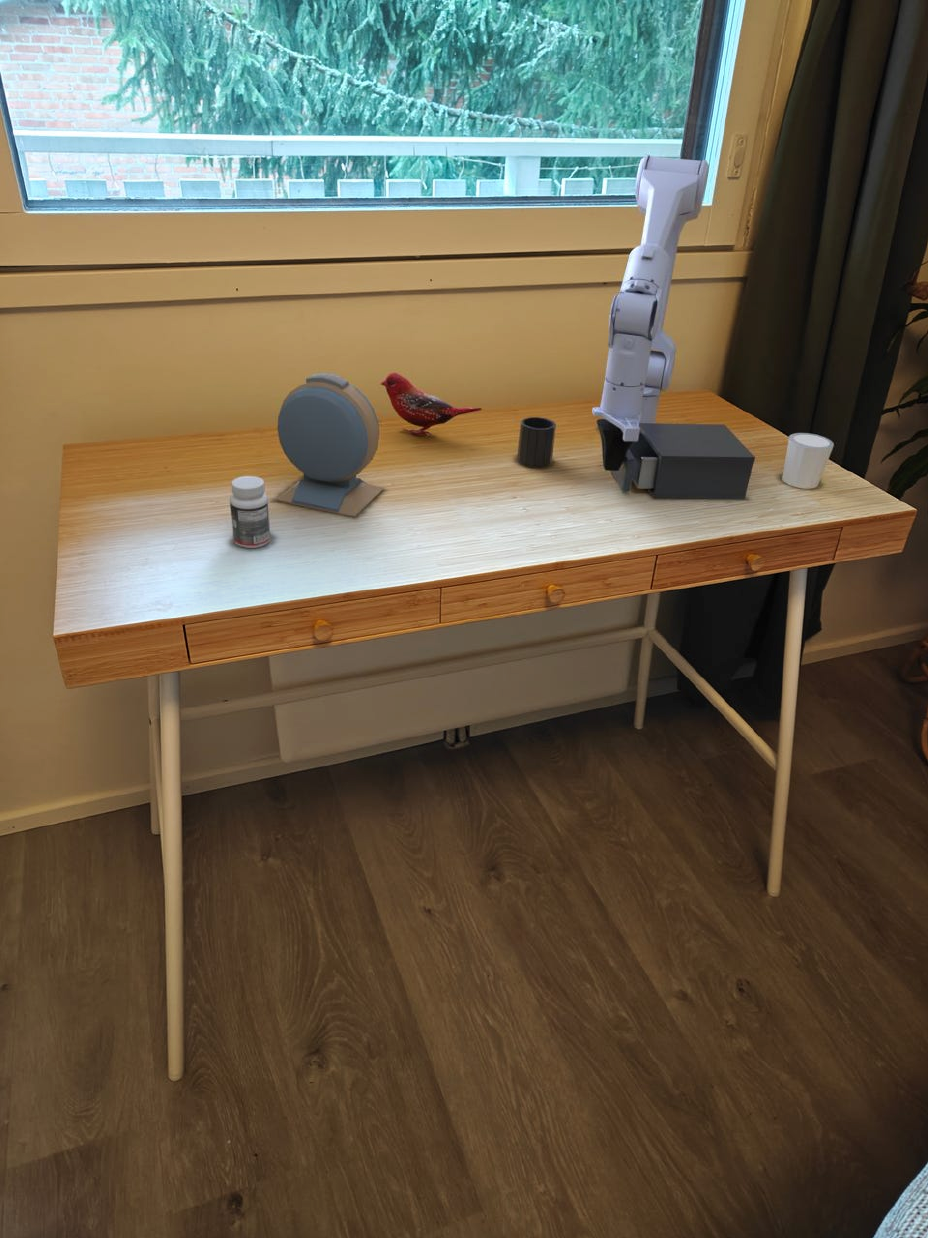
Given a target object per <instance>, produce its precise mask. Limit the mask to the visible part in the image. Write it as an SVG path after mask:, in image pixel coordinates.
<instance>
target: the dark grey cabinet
mask: <svg viewBox="0 0 928 1238" xmlns="http://www.w3.org/2000/svg"><path fill="white" fill-rule="evenodd" d="M639 428H640V432H641V433H642V434H643V436H644V437H645V439H646V440H647V441H648V443H649V444H650V445H651V447H652V448H653V450H654V451H655V452H656V454H657V455H658V457H659V458H660V461H659V466H658V471H657V477H656V482H655V487H654V489H651V488H647V490H648V491H649V493H650V495H651V496H652V498H653V499H656V500H657V499H658V500H661V499H665V500H667V499H668V500H669V499H670V500H677V499H679V500H745V499H746V496H747V492H748V489H749V484H750V480H751V476H752V472H753V468H754V463H755V460H756V457H755V455H754V454H753V453H752V452H751V451H750V450H749V449H748V448H747V447H746V446H745V444H744V443H742V441H741V440H740V439H739V438H738V437H737V436H736V435H735V434H734V432H732V431H731V429H729V428H728V426H727V425H725V424H722V423H721V424H718V423H717V424H714V423H713V424H712V423H711V424H708V423H661V422H660V423H659V422H657V423H656V422H655V423H639Z"/></svg>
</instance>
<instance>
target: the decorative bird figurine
mask: <svg viewBox="0 0 928 1238" xmlns="http://www.w3.org/2000/svg"><path fill="white" fill-rule="evenodd" d="M380 385H381V386H384V388H385V390H386V393H387V396H388V398H389V400H390V402H391V406H392V408H393V410H394V411H395V412H396V413H397V415H398V416H399V417H400V418H401V419H403V420H404V421H405V422H406V423H409V424H410V425H413V426H415V427H421V428H419V429H406V428H403V429H402V431H405V432H408V433H411V434H412V435H423V436H428V435H429V436H432V434H431V433H430V431H426V430H429V429H430V428H431V427H433V426H436V425H443V424H447V422H448V421H450V420H452V419H454V418H455V417H457V416H460V415H464V414H469V413H474V412H479V411H482V410H483V409H482V408H481V407H454V406H452V405H451V404H449V403H447V402H446V401H444V400H442V399H440V398H439V397H437V396H434V395H432V394H430V393H427V392H425V391H422V390H421V389H419V388H417V387H415V386H414V385H413V384H412V383H411V382H410V381H409V379H407V378H406V377H404V376H403V375H401V374H399V373H398V372H390V373H389V374H388V375H387V376H386V377H385V380H383V381H381V383H380Z"/></svg>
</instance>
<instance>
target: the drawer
mask: <svg viewBox="0 0 928 1238" xmlns="http://www.w3.org/2000/svg"><path fill="white" fill-rule="evenodd" d="M659 461H660V458H659V457H658V455H657V454H656V452H655V451H654V450H653V448H652V447H651V445H650V444H649V443H648V441H647V440H646V439H645V437H644V436H643V434H642V433H641V432H639V437H638V441H633V443H632V444H631V445H630V447H629V449H628V451H627V453H626V455H625V457H624V460H623V462H622V465H621V467H620V469H619V471H610V472H611V474H612V476H613V477H614V479H615V481H616V482H617V485H618V486H619V488H620V489H621V491H622V492H631V489H632V484H633V483H634V486H635V487H636V489H648V488H651V489H654V487H655V482H656V477H657V471H658V466H659Z"/></svg>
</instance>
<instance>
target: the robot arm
mask: <svg viewBox="0 0 928 1238" xmlns="http://www.w3.org/2000/svg"><path fill="white" fill-rule="evenodd" d="M639 161H640V162H639V164H638V167H637V173H636V179H635V187H634V190H635V191H634V196H635V199H636V205H637V208H638V212H639V213H640V214H641V215H643V216H644V223H643V229H642V235H641V241H640V242H641V243H640V245H638V246H636V247H635V248H633V249H632V251H631V252H630V253H629V256H628V260H627V265H626V266H625V267H626V268H625V271H624V274H623V279H622V283H621V286H620V290H619V293H618V294H617V293H615V294H614V296H613V299H612V302H611V306H610V310H609V311H610V312H609V317H608V340H607V347H608V348H609V349H608V353H607V355H608V356H607V361H606V369H605V375H604V383H603V390H602V395H601V401H600V405H599V406H593V407H592V410H591V413H592V414H593V416H594V417H601V418H598V419H597V420H596V425H597V427H598V431H599V436H600V441H601V450H602V453H601V455H602V464H603V468H604V470H605V471H609V472H611V471H619V469H620V467H621V465H622V462H623V460H624V457H625V455H626V453H627V451H628V449H629V447H630V445H631V444H632V443H633V441H638V437H639V432H640V428H639V423H656V419H657V415H658V407H659V402H660V397H661V392H666V391H667V390H668V389H669V388H670V385H671V382H672V378H673V373H674V369H675V368H674V367H675V361H676V351H677V346H676V342H675V341H674V339H673V338H671V336H670V335H668V334H667V332H666V331H665V330H664V324H665V323H664V322H665V317H666V312H667V306H668V302H669V295H670V292H671V291H670V290H671V285H672V278H673V275H674V274H673V273H674V267H675V263H676V256H677V251H678V246H679V242H680V236H681V233H682V231H683V229H684V227H685V226H686V224H687V222H690V221H693V220H697V219H698V218H699V215H700V213H701V212H702V207H703V201H704V197H705V193H706V188H707V183H708V177H709V172H710V171H709V169H710V165H709V163H708V161H707V160H706V159H702V160H697V159H696V160H695V159H685V158H674V157H663V156H653V155H652V156H651V155H650V154H645V155H644V156H643V157H642V158H641V159H640V160H639Z"/></svg>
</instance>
